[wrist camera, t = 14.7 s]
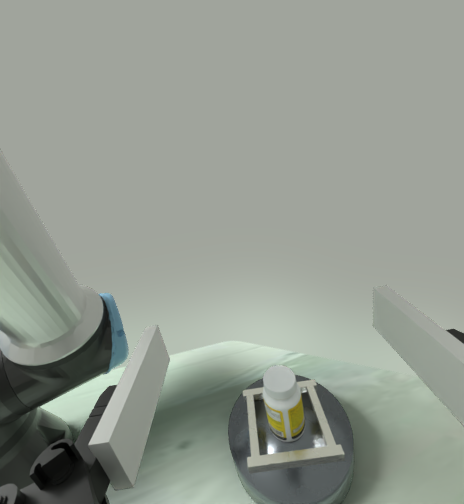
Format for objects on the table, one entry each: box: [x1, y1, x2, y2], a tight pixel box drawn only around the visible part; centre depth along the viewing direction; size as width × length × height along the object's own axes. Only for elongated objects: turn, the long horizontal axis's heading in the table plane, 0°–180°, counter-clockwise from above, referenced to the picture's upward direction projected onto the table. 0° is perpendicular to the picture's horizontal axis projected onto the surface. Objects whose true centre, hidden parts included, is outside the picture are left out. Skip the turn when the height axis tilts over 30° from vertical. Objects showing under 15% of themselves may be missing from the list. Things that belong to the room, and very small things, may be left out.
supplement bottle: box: [263, 365, 305, 442], centre depth 31 cm, size 5×5×8 cm
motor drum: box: [228, 375, 354, 504], centre depth 33 cm, size 16×16×5 cm
